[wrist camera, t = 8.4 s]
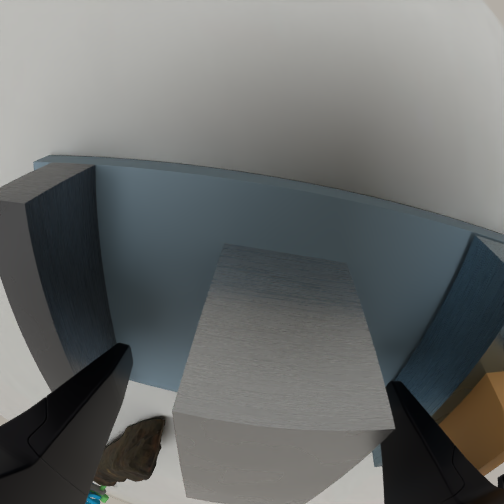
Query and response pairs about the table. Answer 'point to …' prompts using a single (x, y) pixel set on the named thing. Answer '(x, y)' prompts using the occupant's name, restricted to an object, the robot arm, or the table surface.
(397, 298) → the vise
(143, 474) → the brown wooden stick
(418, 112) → the table surface
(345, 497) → the table surface
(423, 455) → the robot arm
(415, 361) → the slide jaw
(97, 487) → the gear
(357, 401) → the steel block
